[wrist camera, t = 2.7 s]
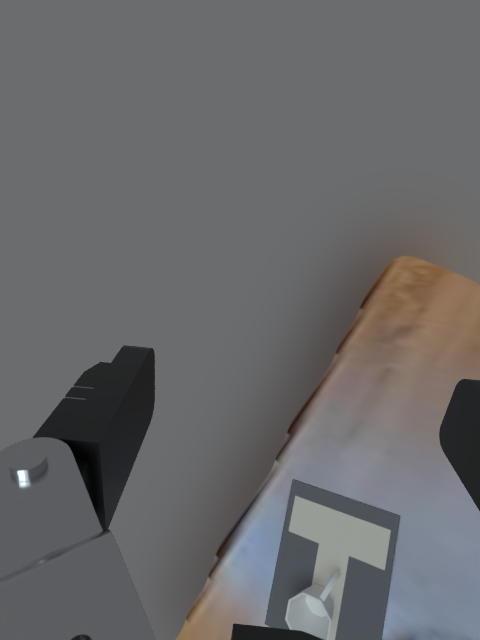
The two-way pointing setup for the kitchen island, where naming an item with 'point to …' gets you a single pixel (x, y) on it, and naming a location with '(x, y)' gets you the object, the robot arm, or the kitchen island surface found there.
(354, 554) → the t mat
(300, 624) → the cup
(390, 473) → the kitchen island surface
